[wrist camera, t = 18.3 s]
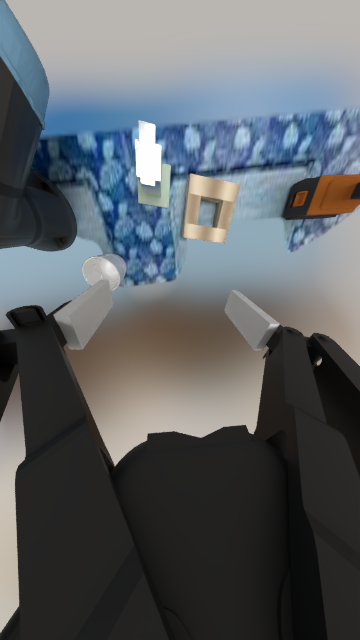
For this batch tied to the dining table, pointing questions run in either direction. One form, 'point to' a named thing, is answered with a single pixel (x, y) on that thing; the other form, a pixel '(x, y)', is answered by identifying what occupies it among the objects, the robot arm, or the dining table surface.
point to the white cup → (104, 269)
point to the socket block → (209, 192)
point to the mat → (164, 198)
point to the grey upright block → (148, 160)
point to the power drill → (323, 197)
